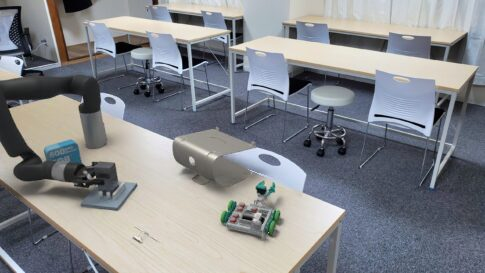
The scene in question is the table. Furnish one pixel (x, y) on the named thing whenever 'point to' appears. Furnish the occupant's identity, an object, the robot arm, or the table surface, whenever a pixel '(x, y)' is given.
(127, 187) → the pin tray
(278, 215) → the robot kit
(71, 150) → the data package
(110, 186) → the dark grey rectangular block
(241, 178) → the curved metal cover
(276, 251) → the table surface
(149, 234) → the picture light
